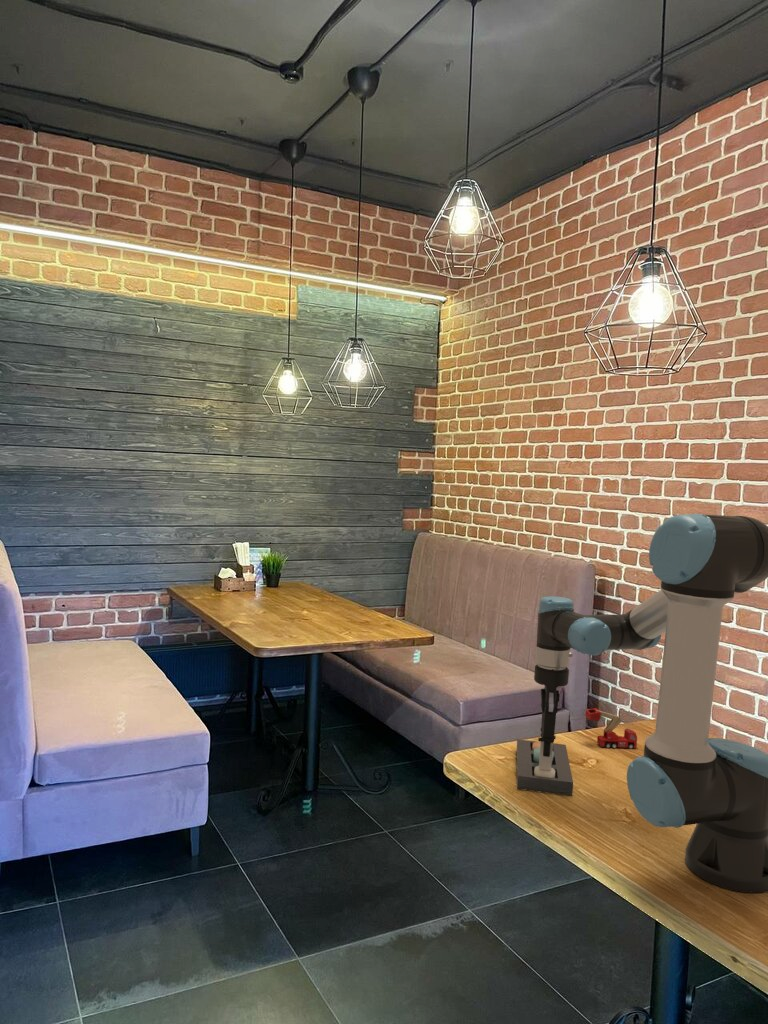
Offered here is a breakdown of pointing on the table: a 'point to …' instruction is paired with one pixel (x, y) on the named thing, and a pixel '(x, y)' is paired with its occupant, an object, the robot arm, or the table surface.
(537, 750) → the button teal
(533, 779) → the panel
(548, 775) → the button ivory
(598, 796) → the table surface
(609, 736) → the toy fire truck
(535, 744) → the button terracotta
